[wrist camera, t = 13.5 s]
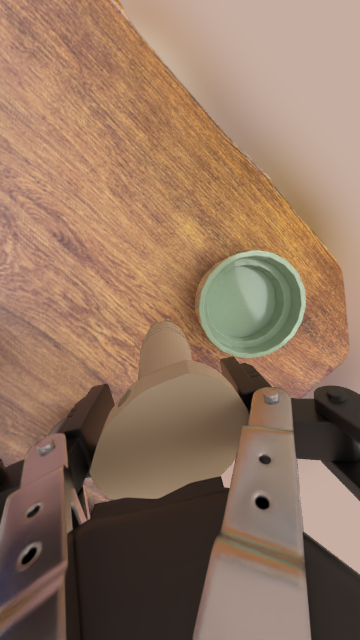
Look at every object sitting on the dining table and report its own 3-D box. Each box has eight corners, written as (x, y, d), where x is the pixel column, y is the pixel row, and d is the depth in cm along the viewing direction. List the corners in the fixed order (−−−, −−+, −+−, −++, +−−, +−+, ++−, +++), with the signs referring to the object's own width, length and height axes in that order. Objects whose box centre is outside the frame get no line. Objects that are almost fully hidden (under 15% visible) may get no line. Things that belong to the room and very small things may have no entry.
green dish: (187, 264, 35) (190, 262, 29) (279, 247, 35) (301, 240, 29) (202, 353, 38) (208, 366, 32) (287, 336, 38) (309, 347, 32)
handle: (201, 325, 23) (274, 426, 8) (160, 367, 23) (160, 529, 9) (168, 294, 22) (183, 347, 7) (126, 339, 22) (62, 470, 8)
